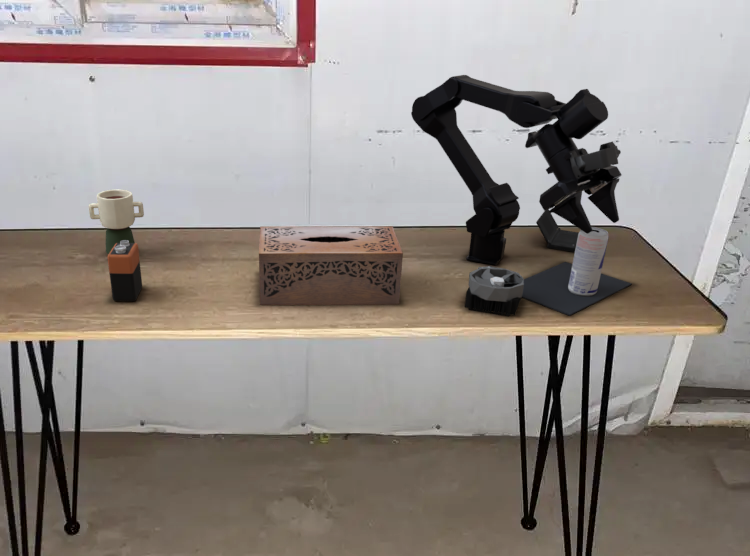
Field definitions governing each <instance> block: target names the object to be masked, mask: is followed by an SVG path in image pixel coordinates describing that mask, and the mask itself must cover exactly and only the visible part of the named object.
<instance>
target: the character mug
mask: <svg viewBox="0 0 750 556" xmlns="http://www.w3.org/2000/svg"><path fill="white" fill-rule="evenodd" d="M96 201H97V202H95V203H92V202H91V203H89V204H88V214H89V218H90V219H91V220H99V222H100V223H101V226H102V227H104V228H105V229H106V230H105V254H107V255H108V254H109V253H110V251H111V250H112V248H113V247H114V245H115V244H116V243H120V241H122V240H128V241H129V243H136V242H135V238H134V233H133V230H132V229H131V227H132V226H133V225H134V224H135V221H136V218H143V217H144V216H145V211H144V204H143V202H142V201H134V196H133V193H132V191H130V190H126V189H118V188H117V189H108V190H103V191H100V192H98V193H97V194H96ZM135 207H138V212H135ZM95 209H98V214H96V213H95Z"/></svg>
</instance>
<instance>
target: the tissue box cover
mask: <svg viewBox="0 0 750 556" xmlns="http://www.w3.org/2000/svg"><path fill="white" fill-rule="evenodd" d="M258 243H259V244H258V276H259V277H258V280H259V281H258V282H259V306H276V305H277V306H282V305H284V306H285V305H290V306H293V305H297V306H300V305H301V306H303V305H304V306H305V305H306V306H307V305H309V306H311V305H318V306H319V305H321V306H322V305H324V306H325V305H327V306H328V305H329V306H330V305H400V299H401V298H400V296H401V284H402V273H403V271H402V270H403V259H404V258H403V257H404V252H403V250H402V246H401V244H400V242H399V239H398V237H397V234H396V232H395V229H394V226H393V225H392V226H389V225H388V226H387V225H386V226H378V225H377V226H375V225H374V226H373V225H372V226H371V225H370V226H369V225H368V226H364V225H363V226H362V225H361V226H360V225H359V226H356V225H353V226H351V225H350V226H349V225H348V226H334V225H333V226H331V225H330V226H329V225H328V226H323V225H321V226H299V225H298V226H297V225H295V226H294V225H293V226H290V225H289V226H281V225H280V226H279V225H278V226H277V225H276V226H273V225H271V226H265V225H264V226H260V227H259V242H258Z"/></svg>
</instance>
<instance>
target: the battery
mask: <svg viewBox="0 0 750 556" xmlns="http://www.w3.org/2000/svg"><path fill="white" fill-rule="evenodd" d="M107 265H108V272H109V280H110V290H111V295H112V297H111V298H112V301H114V302H136V300H137V299H138V296H139V294H140V293H141V290H142V288H143V281H142V270H141V269H142V268H141V261H140V251H139V244H138V243H137V242H135V243H129V241H128V240H122V241H120V243H116V244H115V245H114V247H113V248H112V250H111V251H110V253H109V254H107Z"/></svg>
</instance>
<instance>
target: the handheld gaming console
mask: <svg viewBox="0 0 750 556" xmlns="http://www.w3.org/2000/svg"><path fill="white" fill-rule="evenodd" d="M535 223H536V225H537V227H538V229H539V231H540V233H541V234H542V236H543V238H544V240H545V242H546V243H547V246H546V248H547V249H553V250H559V251H564V252H570V253H571V252H572V253H575V249H576V244H577V239H578V234H579V232H580V231H579V232H578V231H574V230H573V231H572V230H565V229H561V227H559V225H558V223H557V222H556V220H555V217H554V216H553V213H551V212H550V209H547V210H545V211H544V210H543V212H542V213H541V215H540V216H539V217H538V219H537V220H536V221H535Z"/></svg>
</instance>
